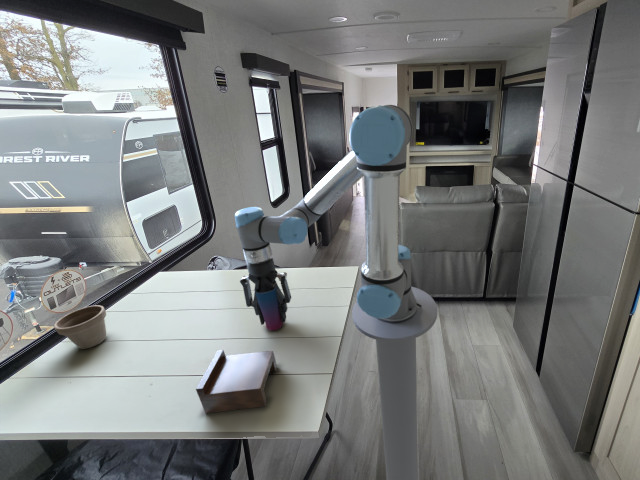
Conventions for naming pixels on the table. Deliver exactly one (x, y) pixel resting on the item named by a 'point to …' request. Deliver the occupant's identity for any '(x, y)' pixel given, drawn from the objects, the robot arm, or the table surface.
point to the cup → (269, 307)
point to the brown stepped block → (235, 381)
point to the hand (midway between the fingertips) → (274, 320)
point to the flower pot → (84, 326)
